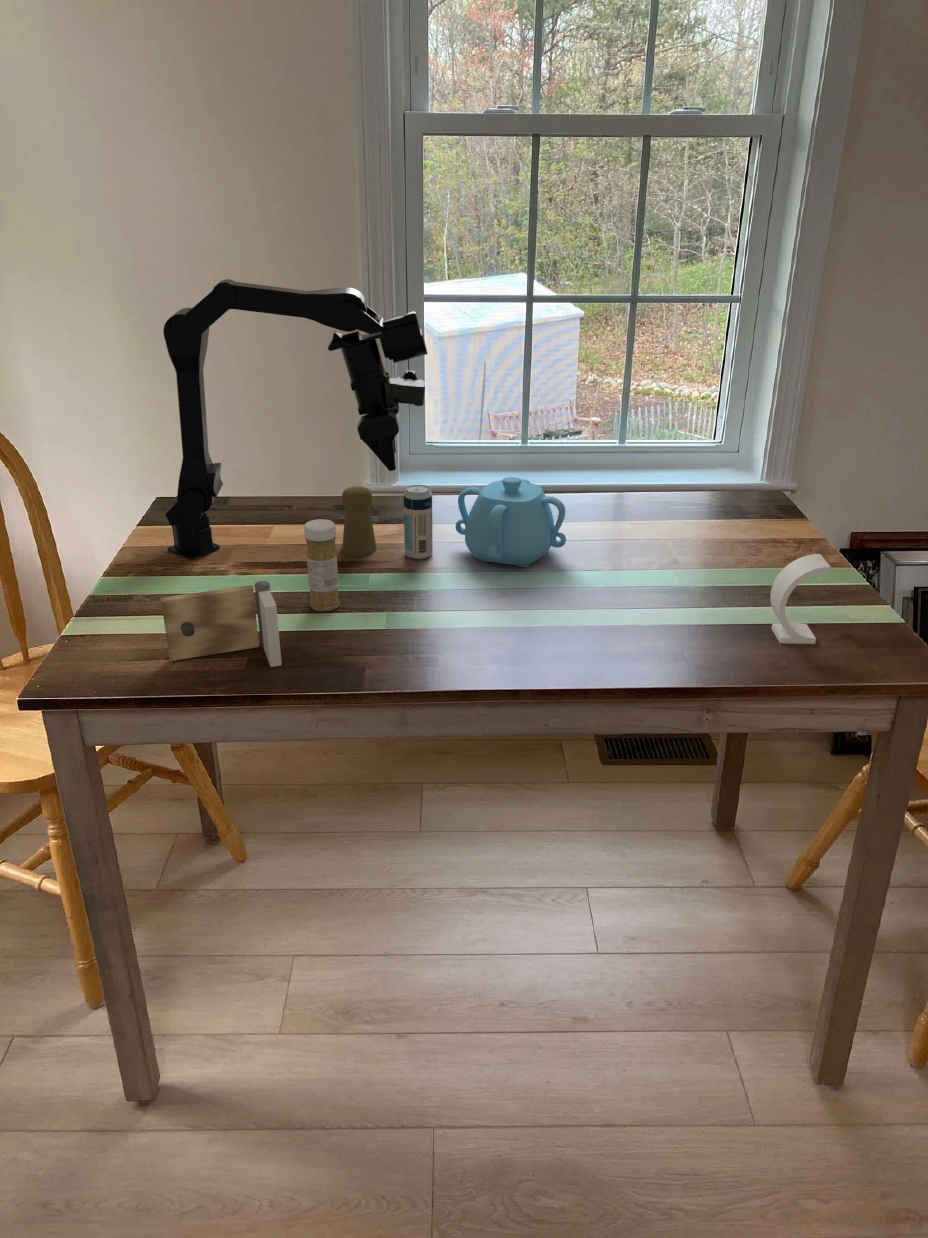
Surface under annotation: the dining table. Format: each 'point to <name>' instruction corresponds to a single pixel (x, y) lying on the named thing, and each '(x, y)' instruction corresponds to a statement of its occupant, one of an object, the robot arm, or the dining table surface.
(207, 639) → the door
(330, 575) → the sprinkles bottle
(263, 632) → the door frame
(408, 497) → the beer can
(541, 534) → the decorative pot
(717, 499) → the dining table surface
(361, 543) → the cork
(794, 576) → the headphone stand
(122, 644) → the dining table surface
